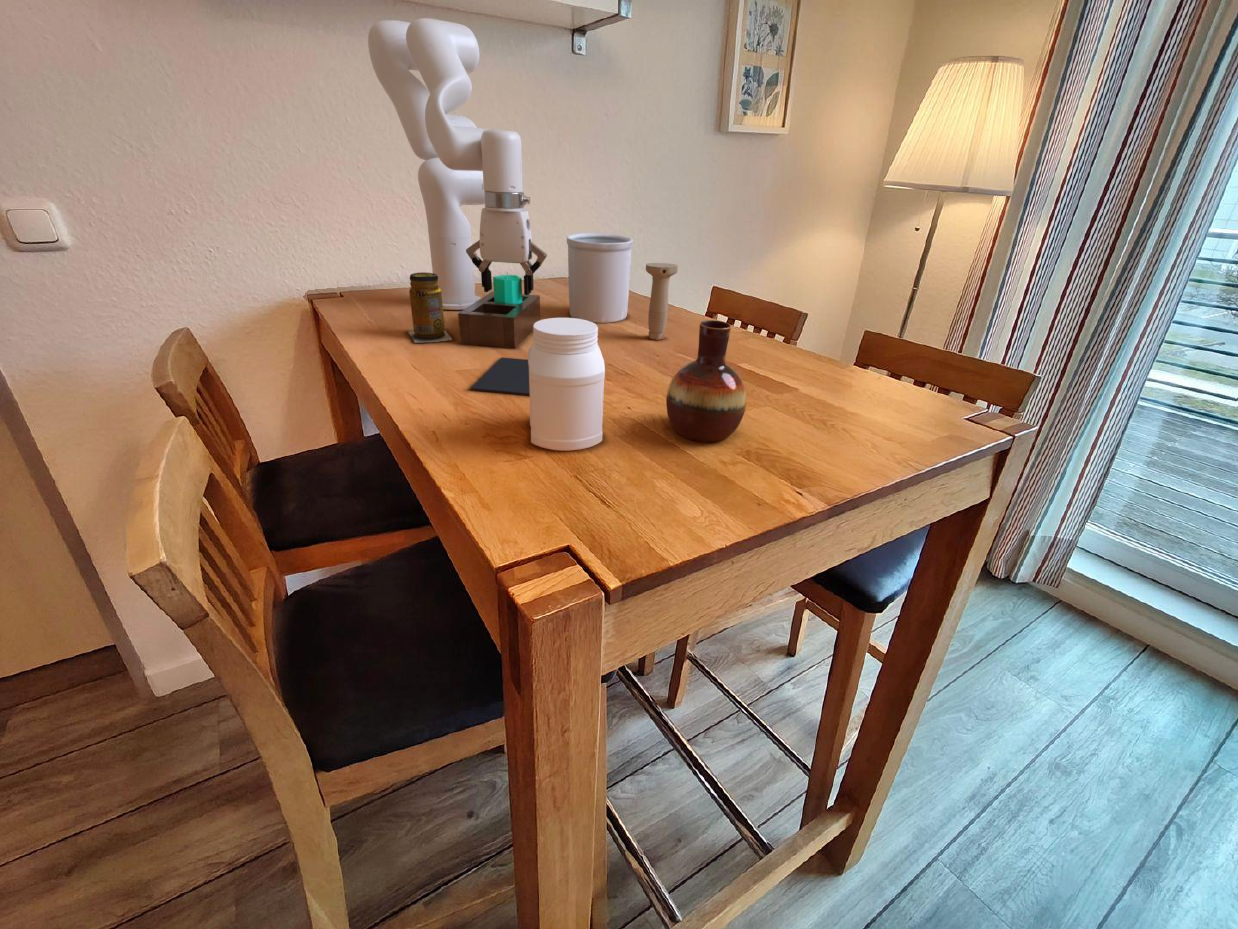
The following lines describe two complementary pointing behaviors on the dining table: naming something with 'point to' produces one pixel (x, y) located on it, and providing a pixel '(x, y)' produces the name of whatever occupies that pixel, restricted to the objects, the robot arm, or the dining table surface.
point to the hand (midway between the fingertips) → (507, 291)
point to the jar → (566, 384)
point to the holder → (498, 321)
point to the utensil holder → (599, 276)
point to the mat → (505, 377)
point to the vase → (707, 390)
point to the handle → (659, 297)
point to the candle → (507, 289)
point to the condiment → (427, 309)
